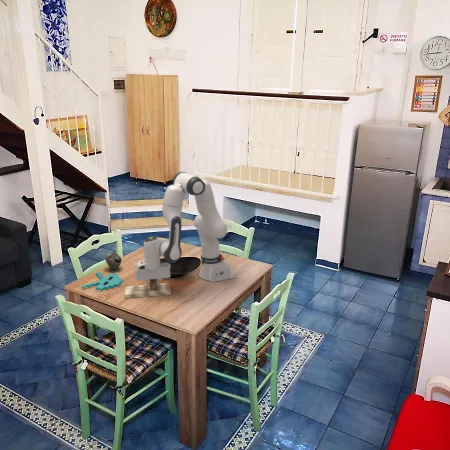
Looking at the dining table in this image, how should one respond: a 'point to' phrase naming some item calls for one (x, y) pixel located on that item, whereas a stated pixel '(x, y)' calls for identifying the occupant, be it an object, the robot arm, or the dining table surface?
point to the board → (147, 291)
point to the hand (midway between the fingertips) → (153, 285)
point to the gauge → (153, 284)
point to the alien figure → (105, 282)
